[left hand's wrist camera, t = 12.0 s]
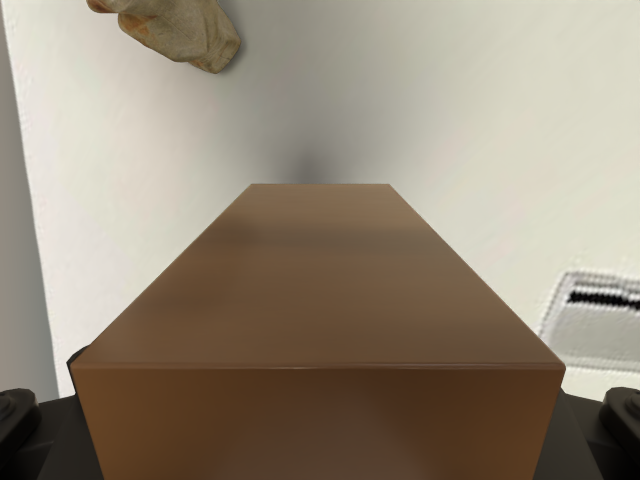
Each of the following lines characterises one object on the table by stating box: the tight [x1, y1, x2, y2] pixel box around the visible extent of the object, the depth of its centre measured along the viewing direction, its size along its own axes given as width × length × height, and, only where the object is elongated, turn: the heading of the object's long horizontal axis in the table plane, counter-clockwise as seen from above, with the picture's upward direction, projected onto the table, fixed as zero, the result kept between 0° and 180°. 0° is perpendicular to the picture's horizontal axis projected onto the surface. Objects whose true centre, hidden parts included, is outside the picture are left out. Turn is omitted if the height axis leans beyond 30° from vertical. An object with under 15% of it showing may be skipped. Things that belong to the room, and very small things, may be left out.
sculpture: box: [86, 0, 241, 74], centre depth 22 cm, size 6×7×15 cm
